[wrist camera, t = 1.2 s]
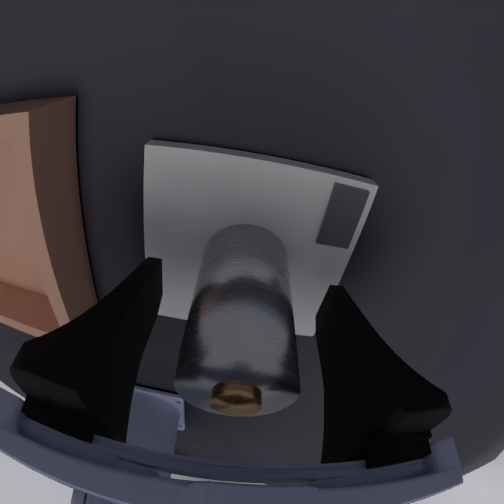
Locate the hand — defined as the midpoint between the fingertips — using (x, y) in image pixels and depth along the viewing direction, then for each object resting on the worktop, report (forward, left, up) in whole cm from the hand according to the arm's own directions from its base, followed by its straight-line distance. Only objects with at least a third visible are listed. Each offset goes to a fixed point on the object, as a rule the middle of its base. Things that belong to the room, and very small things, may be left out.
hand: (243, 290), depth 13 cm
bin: (0, +16, -3) cm, 16 cm away
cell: (0, 0, -2) cm, 2 cm away
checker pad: (0, 0, -3) cm, 3 cm away
